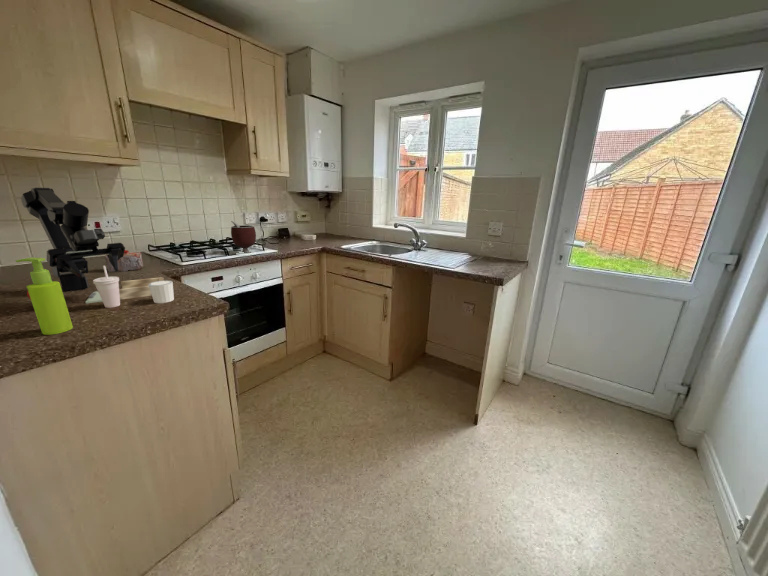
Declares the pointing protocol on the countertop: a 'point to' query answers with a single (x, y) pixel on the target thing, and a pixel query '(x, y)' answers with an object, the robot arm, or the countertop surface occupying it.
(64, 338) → the countertop surface
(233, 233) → the mate gourd
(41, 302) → the soap dispenser
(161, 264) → the countertop surface
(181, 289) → the countertop surface
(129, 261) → the food item
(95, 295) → the pale green flat block
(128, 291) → the wooden serving board
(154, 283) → the white ramekin
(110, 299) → the smoothie
